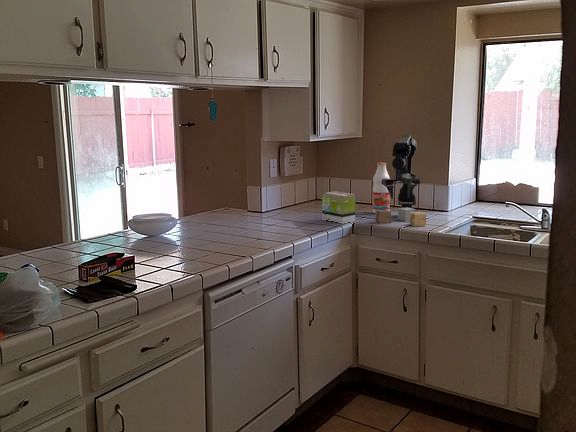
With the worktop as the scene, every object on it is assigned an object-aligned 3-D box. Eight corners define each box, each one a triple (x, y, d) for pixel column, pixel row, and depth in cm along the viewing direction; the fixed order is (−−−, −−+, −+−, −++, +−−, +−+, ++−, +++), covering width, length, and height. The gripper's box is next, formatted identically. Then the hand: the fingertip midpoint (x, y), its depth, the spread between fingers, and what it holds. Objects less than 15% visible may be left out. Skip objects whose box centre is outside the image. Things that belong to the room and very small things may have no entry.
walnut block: (375, 221, 300) (375, 210, 299) (386, 221, 301) (386, 209, 300) (379, 223, 294) (380, 212, 293) (390, 223, 295) (391, 211, 294)
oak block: (409, 224, 292) (410, 212, 291) (420, 223, 293) (421, 211, 292) (414, 226, 286) (415, 214, 285) (426, 225, 288) (426, 213, 286)
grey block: (398, 219, 304) (398, 208, 303) (407, 218, 307) (407, 207, 306) (405, 221, 299) (405, 210, 298) (414, 220, 302) (414, 209, 301)
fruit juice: (388, 211, 329) (389, 162, 324) (390, 214, 319) (391, 163, 314) (371, 211, 329) (372, 162, 324) (373, 214, 320) (374, 163, 315)
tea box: (321, 220, 304) (321, 192, 301) (334, 218, 310) (334, 190, 308) (342, 224, 293) (342, 195, 290) (355, 221, 299) (356, 193, 297)
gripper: (390, 169, 279) (390, 201, 282) (426, 168, 283) (425, 199, 286) (381, 167, 289) (380, 198, 292) (415, 166, 294) (414, 196, 297)
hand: (400, 198), depth 292 cm, fingers open, 9 cm apart
